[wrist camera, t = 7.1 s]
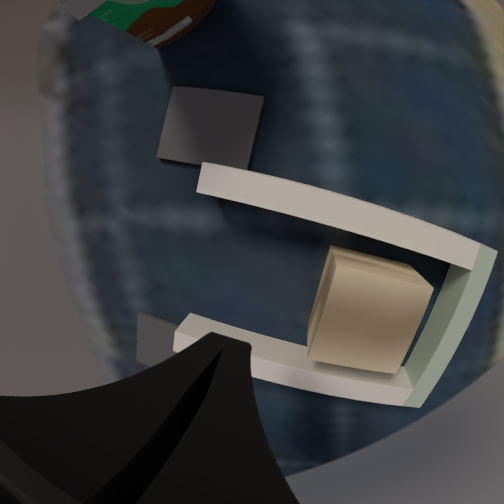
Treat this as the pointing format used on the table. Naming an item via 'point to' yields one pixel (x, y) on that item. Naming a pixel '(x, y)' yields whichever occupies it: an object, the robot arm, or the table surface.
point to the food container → (144, 16)
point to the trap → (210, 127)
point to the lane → (371, 225)
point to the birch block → (365, 311)
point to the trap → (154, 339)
